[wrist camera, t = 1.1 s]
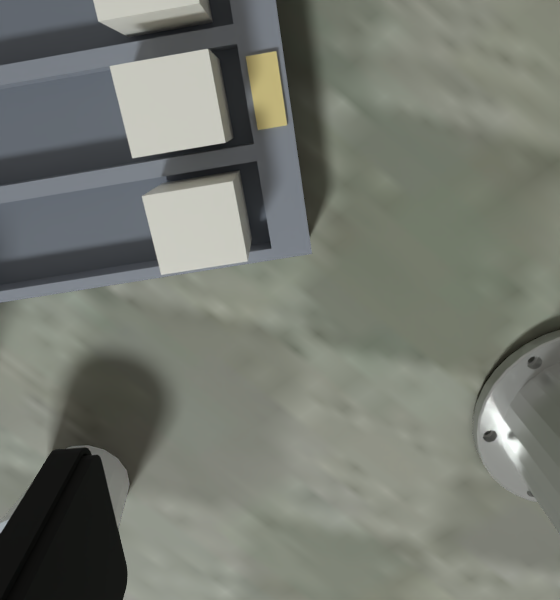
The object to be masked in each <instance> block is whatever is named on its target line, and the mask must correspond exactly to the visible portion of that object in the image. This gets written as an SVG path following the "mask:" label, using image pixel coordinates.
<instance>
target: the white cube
mask: <svg viewBox="0 0 560 600" xmlns="http://www.w3.org/2000/svg"><path fill="white" fill-rule="evenodd" d="M93 2H94V6H95V10H96V14H97V18H98V22H100V23H102V24H104V25H106V26H108V27H110V28H112V29H114V30H116V31H118V32H120V33H122V34H124V35H126V36H128V37H133V36H139V35H144V34H150V33H156V32H161V31H167V30H172V29H178V28H184V27H189V26H195V25H200V24H206V23H212V22H213V21H212V15H211V10H210V4H209V0H93Z"/></svg>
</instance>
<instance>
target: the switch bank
mask: <svg viewBox="0 0 560 600" xmlns="http://www.w3.org/2000/svg"><path fill="white" fill-rule="evenodd" d="M209 4H210V10H211V15H212V21H213V22H212V23H206V24H200V25H195V26H189V27H184V28H178V29H172V30H167V31H161V32H156V33H150V34H144V35H139V36H133V37H128V36H126V35H124V34H122V33H120V32H118V31H116V30H114V29H112V28H110V27H108V26H106V25H104V24H102V23H100V22H98V18H97V14H96V10H95V6H94V2H93V0H0V302H7V301H13V300H19V299H26V298H32V297H39V296H45V295H51V294H58V293H64V292H71V291H77V290H83V289H90V288H96V287H102V286H109V285H115V284H122V283H128V282H134V281H141V280H147V279H154V278H160V277H166V276H173V275H179V274H185V273H192V272H198V271H205V270H211V269H217V268H224V267H230V266H237V265H243V264H249V263H256V262H262V261H268V260H275V259H281V258H288V257H294V256H300V255H307V254H312V251H311V244H310V237H309V230H308V223H307V216H306V209H305V202H304V195H303V188H302V181H301V174H300V167H299V160H298V153H297V146H296V139H295V132H294V125H293V118H292V111H291V104H290V97H289V90H288V83H287V76H286V69H285V62H284V55H283V48H282V41H281V34H280V27H279V20H278V13H277V6H276V0H209ZM203 49H209V50H210V51H211V52H212V53H213V54H214V55H215V56H216V57H217V58H218V59H219V60H220V65H221V70H222V76H223V81H224V87H225V92H226V98H227V103H228V109H229V114H230V120H231V125H232V131H233V136H234V138H233V139H231V140H229V141H228V142H226V143H221V144H215V145H209V146H203V147H197V148H191V149H185V150H179V151H173V152H167V153H161V154H155V155H149V156H143V157H137V158H132V155H131V151H130V147H129V143H128V139H127V135H126V131H125V127H124V123H123V119H122V115H121V111H120V107H119V103H118V99H117V95H116V91H115V87H114V83H113V79H112V74H111V70H110V66H113V65H118V64H124V63H130V62H135V61H141V60H147V59H152V58H158V57H164V56H169V55H175V54H181V53H186V52H192V51H198V50H203ZM238 170H240V175H241V181H242V186H243V192H244V197H245V203H246V208H247V214H248V219H249V225H250V230H251V236H252V242H251V247H250V252H249V258H248V261H247V262H241V263H235V264H228V265H222V266H216V267H209V268H203V269H196V270H190V271H184V272H177V273H171V274H164V275H161V272H160V268H159V264H158V260H157V256H156V252H155V248H154V244H153V240H152V236H151V232H150V228H149V224H148V220H147V216H146V212H145V208H144V204H143V200H142V196H143V195H144V194H146V193H148V192H149V191H151V190H152V189H154V188H156V187H157V186H159V185H160V184H162V183H165V182H171V181H177V180H183V179H190V178H196V177H202V176H208V175H214V174H220V173H226V172H232V171H238Z"/></svg>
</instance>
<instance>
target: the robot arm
mask: <svg viewBox="0 0 560 600" xmlns="http://www.w3.org/2000/svg"><path fill="white" fill-rule="evenodd" d="M472 434H473V439H474V443H475V448H476V450H477V452H478V454H479V457H480V459H481V461H482V463H483V464H484V466H485V467H486V469H487V470H488V472H489V473H490V475H491V476H492V477H493V478H494V479H495V480H496V481H497V482H498V483H499V484H500V485H501V486H502V487H503V488H505V489H507V490H508V491H510V492H512V493H513V494H515V495H517V496H519V497H522V498H524V499H527V500H530V501H535V502H538V503H539V505H540V506H541V508H542V509H543V511H544V512H545V514H546V515H547V516H548V518H549V519H550V521H551V522H552V524H553V525H554V527H555V528H556V530H557V531H558V533H559V534H560V330H557V331H554V332H551V333H548V334H545V335H543V336H541V337H539V338H537V339H535V340H533V341H531V342H529V343H527V344H525V345H524V346H522V347H521V348H519V349H518V350H517V351H515V352H514V353H512V354H511V355H510V356H508V357H507V358H506V359H505V360H504V361H503V362H502V363H501V364H500V365H499V366H498V367H497V368H496V369H495V371H494V372H493V374H492V375H491V376H490V378H489V379H488V381H487V382H486V383H485V385H484V387H483V389H482V391H481V393H480V395H479V398H478V400H477V402H476V406H475V411H474V415H473V432H472ZM126 585H127V565H126V561H125V557H124V552H123V548H122V544H121V540H120V535H119V531H118V527H117V523H116V519H115V514H114V510H113V506H112V502H111V498H110V493H109V489H108V485H107V481H106V476H105V472H104V468H103V464H102V460H101V458H100V456H99V455H92V454H91V452H90V450H89V449H88V448H86V447H82V448H70V449H57V450H54V451H52V452H51V454H50V455H49V456H48V458H47V460H46V461H45V463H44V464H43V466H42V468H41V469H40V471H39V472H38V474H37V476H36V477H35V479H34V481H33V482H32V484H31V485H30V487H29V489H28V490H27V492H26V493H25V495H24V497H23V498H22V500H21V501H20V503H19V505H18V506H17V508H16V509H15V511H14V513H13V514H12V516H11V517H10V519H9V521H8V522H7V524H6V525H5V527H4V529H3V530H2V532H1V533H0V600H123V597H124V593H125V590H126Z"/></svg>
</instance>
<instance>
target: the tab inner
mask: <svg viewBox="0 0 560 600" xmlns="http://www.w3.org/2000/svg"><path fill="white" fill-rule="evenodd" d="M142 200H143V204H144V208H145V212H146V216H147V220H148V224H149V228H150V232H151V236H152V240H153V244H154V248H155V252H156V256H157V260H158V264H159V268H160V272H161V275H164V274H171V273H177V272H184V271H190V270H196V269H203V268H209V267H216V266H222V265H228V264H235V263H241V262H247V261H248V258H249V252H250V247H251V242H252V236H251V230H250V225H249V219H248V214H247V208H246V203H245V197H244V192H243V186H242V181H241V175H240V170H238V171H232V172H226V173H220V174H214V175H208V176H202V177H196V178H190V179H183V180H177V181H171V182H165V183H162V184H160V185H159V186H157V187H156V188H154V189H152V190H151V191H149V192H148V193H146V194H144V195H143V196H142Z"/></svg>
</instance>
